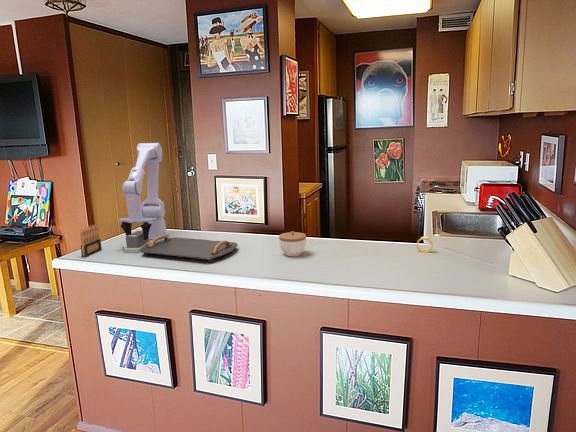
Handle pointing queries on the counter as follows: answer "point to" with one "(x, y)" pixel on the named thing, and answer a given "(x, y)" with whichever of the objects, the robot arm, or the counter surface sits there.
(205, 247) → the serving board
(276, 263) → the counter surface
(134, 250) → the pin header
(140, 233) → the block
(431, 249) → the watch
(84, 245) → the ammunition clip
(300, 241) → the lidded jar
